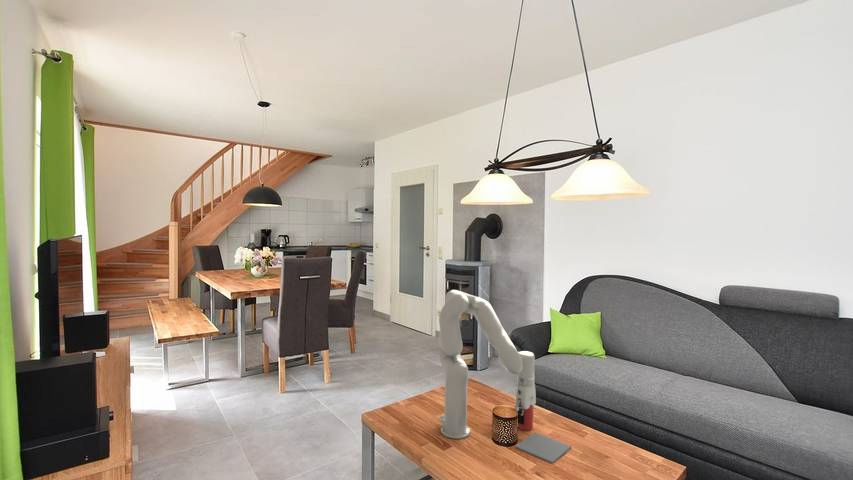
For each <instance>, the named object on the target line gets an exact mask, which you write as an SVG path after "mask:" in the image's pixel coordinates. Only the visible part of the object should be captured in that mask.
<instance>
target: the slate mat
mask: <svg viewBox="0 0 853 480" xmlns="http://www.w3.org/2000/svg"><path fill="white" fill-rule="evenodd" d="M514 448H515V449H517V450H520V451H521V452H525V453H526V454H528V455H532V456H534V457H536V458H538V459H541V460H543V461H545V462H548V463H550V464H554V463H556V462H557V461H558V460H559V459H560V458H562V456H563V455H565V454H566V453H567V452H568V451H569V450H571V449H572V446H571V445H569V444H566V443H564V442H562V441H559V440H557V439H553V438H552V437H548V436H546V435H543V434H540V433H538V432H534V433H532V434H530V435H529V436H528V437H526V438H525V439H523V440H522V441H520V442H519V443H517V444H516V445H515V446H514Z"/></svg>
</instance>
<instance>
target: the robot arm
mask: <svg viewBox="0 0 853 480" xmlns="http://www.w3.org/2000/svg"><path fill="white" fill-rule="evenodd" d="M444 301H445V302H444V303H445V304H444V305H443V306H442V308H441V310H440V312H439V318H438V322H439V331H440V333H439V335H438V336H437V345H438V353H439V359H440V364H441V368H442V370H443V371H444V374H445V382H444V415H443V414H441V415H440V416H439V419H438V422H439V423H441V424H442V425H441V427H440V433H441V435H442V436H444V437H447V438H449V439H454V440H455V439H458V440H460V439H464V438H468V437H469V436H470V435H471V429H470V427H469V426H468V425H467V423H468V421H467V419H468V418H467V417H468V410H467V409H468V384H469V376H470V375H469V367H468V365H467V363H466V362H465V360H464V359H463V358H462V355H461V353H462V351H463V347H464V345H463V343H464V342H463V340H462V339H463V338H462V333H461V329H460V328H461V325H460V319H461V316H462V314H463V313H465V314H468V315H469V314H470V315H472V316H473V317H474V318H475V319H476V320H475V321H477V323H478V325H479V327H480V329H481V331H482V332H483V335H484V336H485V338H486V340H487V341H488V342H489V343H490V345H491V346H492V347H493V348H494V350H496V352H497V354H498V357H497V358H498V360H497V361H498V363H499V364H500V365H501V366H502V368H504V369H505V370H506V372H508V373H509V374H511V375H516V391H515V405H514V411H515V410H516V411H517V413H518V423H520V424H522V425H523V424H524V415H523V413H524V410H526V409H528V408H529V407H530V405H531V404H532V405H533V410H534V409H535V407H534V406H535V405H536V403H537V396H536V395H537V394H536V393H537V392H536V391H537V390H536V384H535V365H536V364H535V363H536V361H535V360H536V359H535V358H536V356H535V354H534V352H531V351H528V350H522V351H518V350H517V348H516V346H515V345H514V343H513V342H512V340H511V338H510V337H509V336H508V333H507V331H505V328H504V327H503V325H502V323H501V321H500V319H499V317H498V316H497V314H496V312H495V310H494V308H493V307H492V305H491V303H490V302H489V301H487V300H485V299H484V298H482V297H479V296H476V295H472V294H469V293H466V292H464V291H460V290H458V289H451V290H449V291H447V293H446V294H445V296H444ZM520 405H521V406H522V407H520ZM520 409H522V411H520ZM516 411H515V412H516Z"/></svg>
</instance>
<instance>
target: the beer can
mask: <svg viewBox="0 0 853 480" xmlns="http://www.w3.org/2000/svg"><path fill="white" fill-rule="evenodd" d="M520 407H522V406H521V405H520ZM520 411H522V409H520ZM523 415H524V424H523V425H522V424H520V423H518V426H517V428H518V429H519V430H522V431H530V430H532V429H533V425H534V424H533V423H534V409H533V405H532V404H531V405H530V407H529V408H528V409H526V410H524V413H523Z"/></svg>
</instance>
